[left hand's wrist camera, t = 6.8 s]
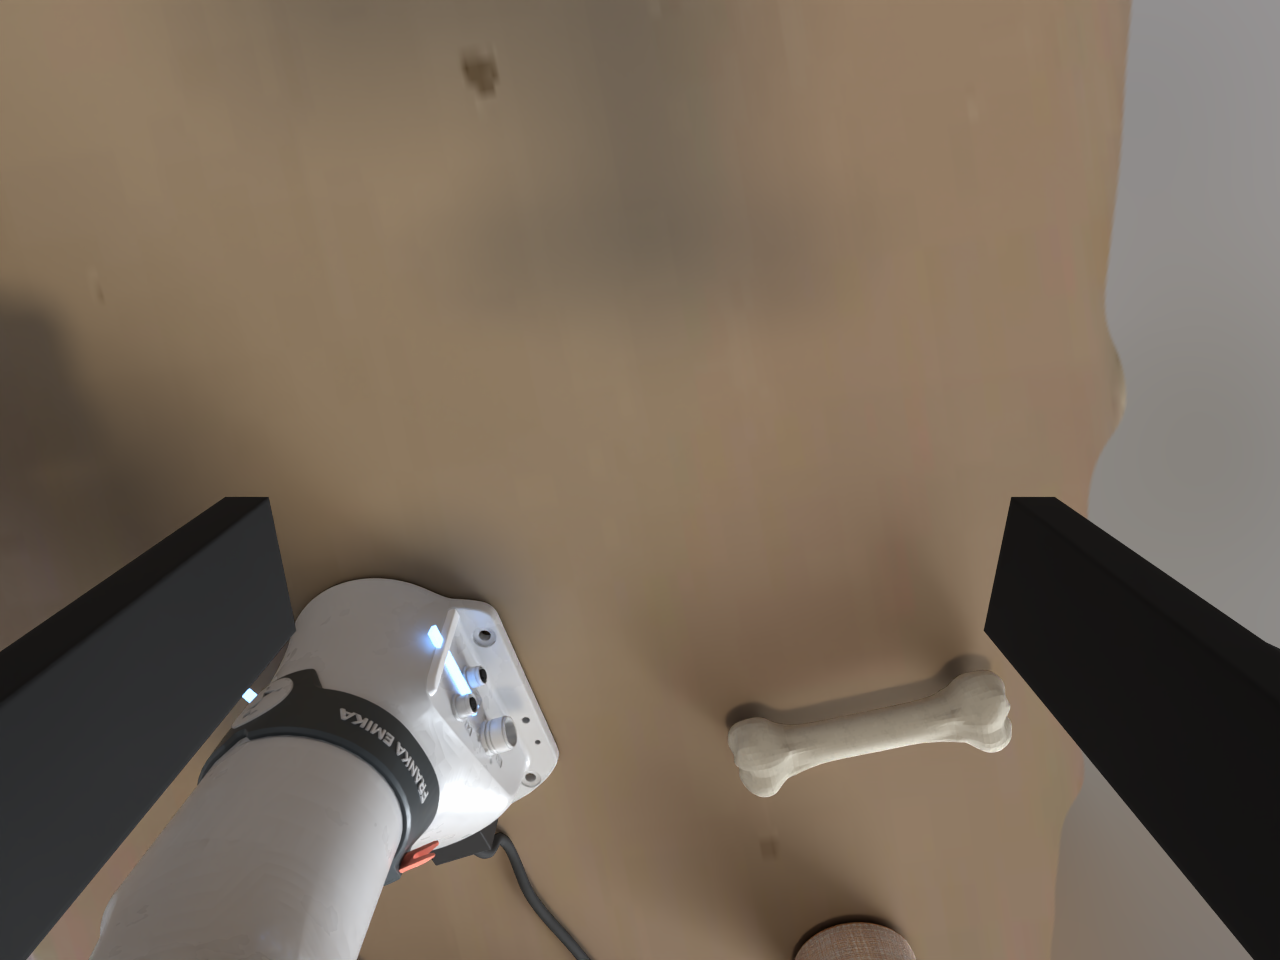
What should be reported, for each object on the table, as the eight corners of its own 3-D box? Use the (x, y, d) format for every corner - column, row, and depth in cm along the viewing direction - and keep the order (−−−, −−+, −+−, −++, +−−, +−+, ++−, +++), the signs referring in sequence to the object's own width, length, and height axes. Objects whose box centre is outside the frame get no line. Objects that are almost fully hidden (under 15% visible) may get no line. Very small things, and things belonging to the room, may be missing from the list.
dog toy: (737, 768, 55) (746, 820, 51) (720, 708, 53) (728, 756, 49) (994, 714, 54) (1028, 762, 49) (987, 650, 51) (1022, 694, 47)
